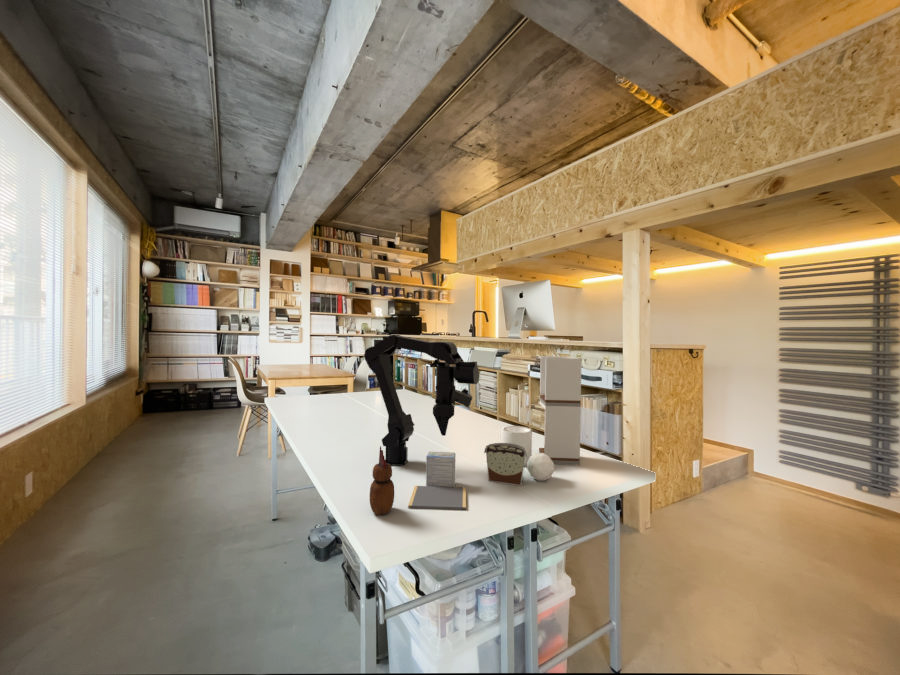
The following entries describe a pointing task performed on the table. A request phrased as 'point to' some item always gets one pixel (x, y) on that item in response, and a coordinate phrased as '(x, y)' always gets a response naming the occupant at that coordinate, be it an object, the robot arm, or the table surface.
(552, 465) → the geometric ball
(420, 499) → the mat
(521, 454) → the multicoloured piece
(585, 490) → the table surface
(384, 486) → the wooden figurine
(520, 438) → the mug
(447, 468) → the medicine box
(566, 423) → the stacked beige boxes
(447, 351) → the robot arm
